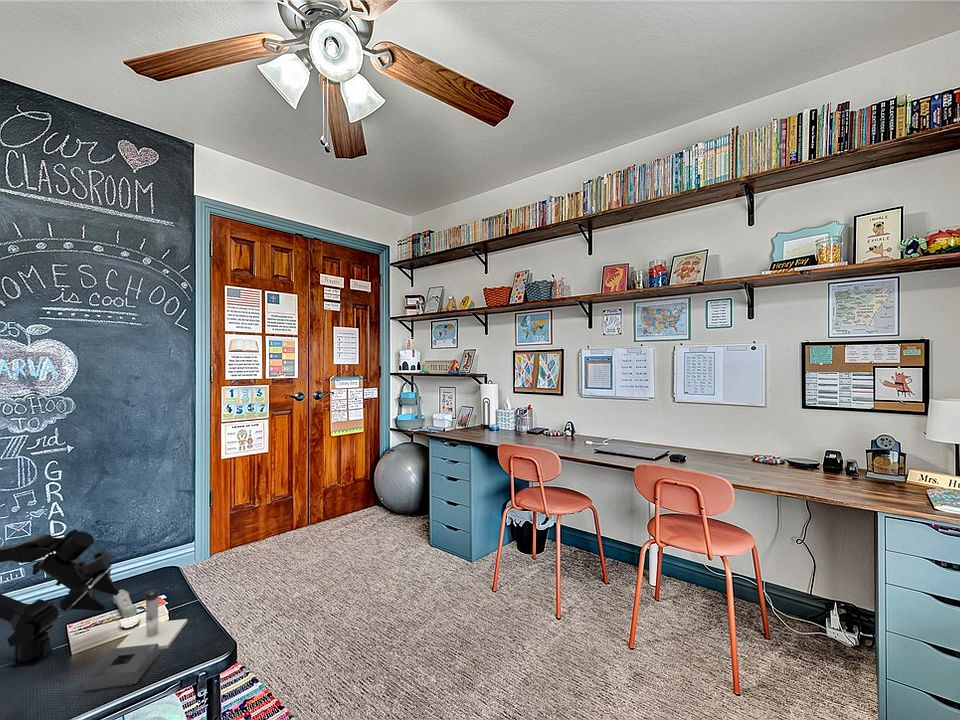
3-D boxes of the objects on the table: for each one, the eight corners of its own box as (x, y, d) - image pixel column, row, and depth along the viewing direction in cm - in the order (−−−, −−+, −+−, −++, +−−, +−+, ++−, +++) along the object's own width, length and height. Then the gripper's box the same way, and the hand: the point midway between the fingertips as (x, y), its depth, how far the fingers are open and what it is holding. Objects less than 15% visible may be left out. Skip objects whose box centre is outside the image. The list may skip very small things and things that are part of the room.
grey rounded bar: (128, 586, 165) (140, 602, 147) (129, 605, 164) (141, 624, 147) (110, 591, 161) (120, 609, 144) (110, 611, 161) (120, 631, 143)
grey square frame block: (83, 691, 118) (83, 677, 118) (111, 661, 130) (111, 648, 130) (136, 684, 120) (136, 671, 120) (158, 655, 132) (158, 643, 132)
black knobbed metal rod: (145, 639, 138) (145, 596, 138) (144, 634, 141) (144, 591, 141) (160, 634, 141) (160, 592, 141) (158, 629, 143) (158, 587, 143)
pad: (113, 654, 133) (113, 651, 132) (138, 627, 146) (138, 623, 146) (167, 648, 135) (167, 645, 135) (187, 622, 149) (187, 618, 149)
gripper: (73, 561, 125) (121, 594, 129) (103, 536, 143) (145, 566, 147) (36, 594, 123) (87, 627, 127) (72, 565, 140) (115, 594, 144)
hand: (111, 601), depth 136 cm, fingers open, 9 cm apart
